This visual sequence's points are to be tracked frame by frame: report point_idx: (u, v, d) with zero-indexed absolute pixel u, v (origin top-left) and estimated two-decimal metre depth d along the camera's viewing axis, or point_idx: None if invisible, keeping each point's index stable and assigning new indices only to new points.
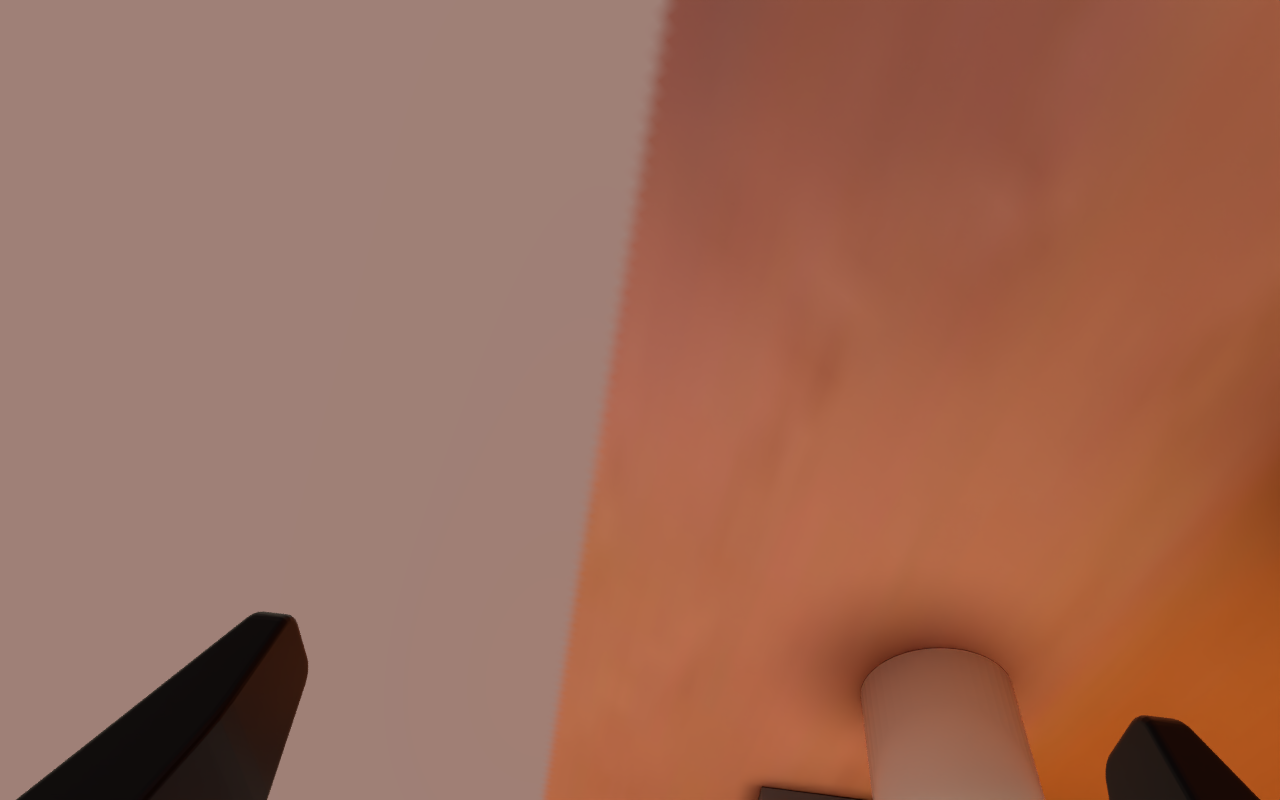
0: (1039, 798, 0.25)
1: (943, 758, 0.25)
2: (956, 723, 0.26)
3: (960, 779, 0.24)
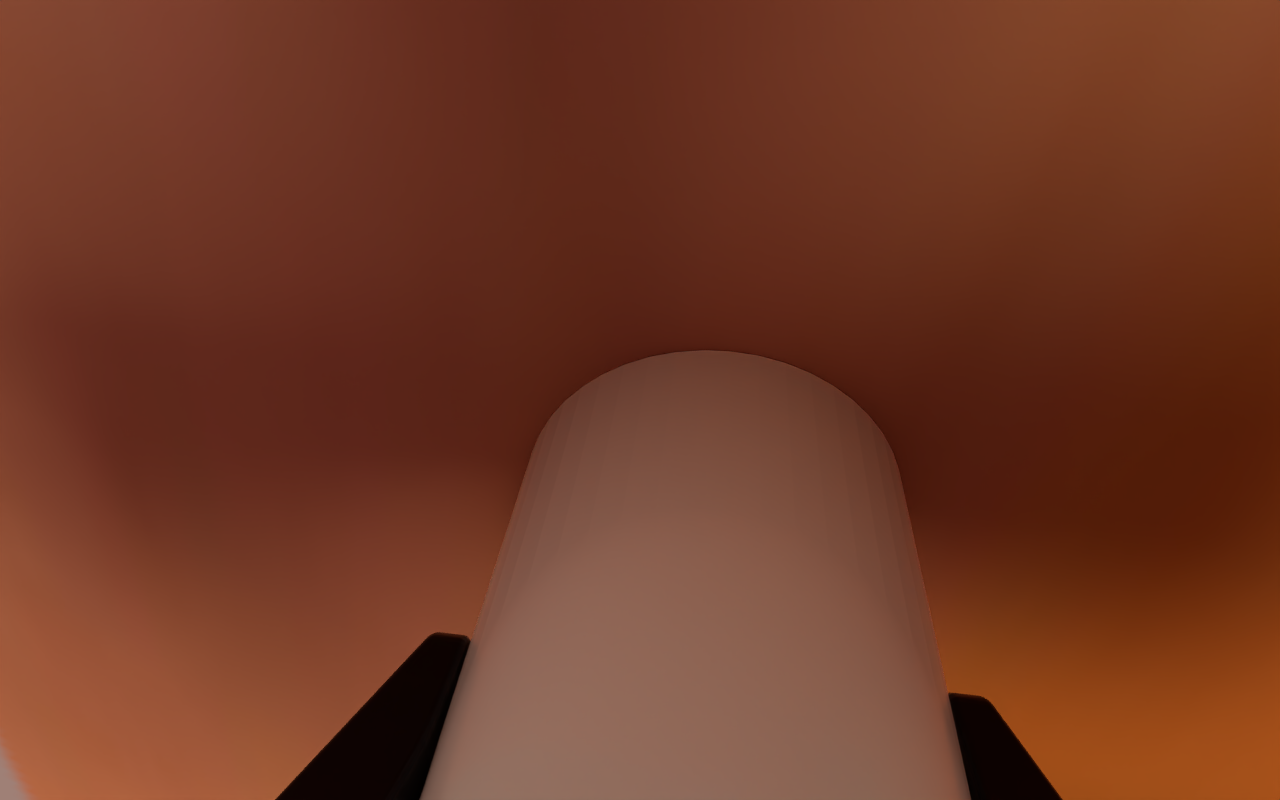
0: (931, 748, 0.07)
1: (597, 613, 0.07)
2: (673, 511, 0.08)
3: (628, 678, 0.06)
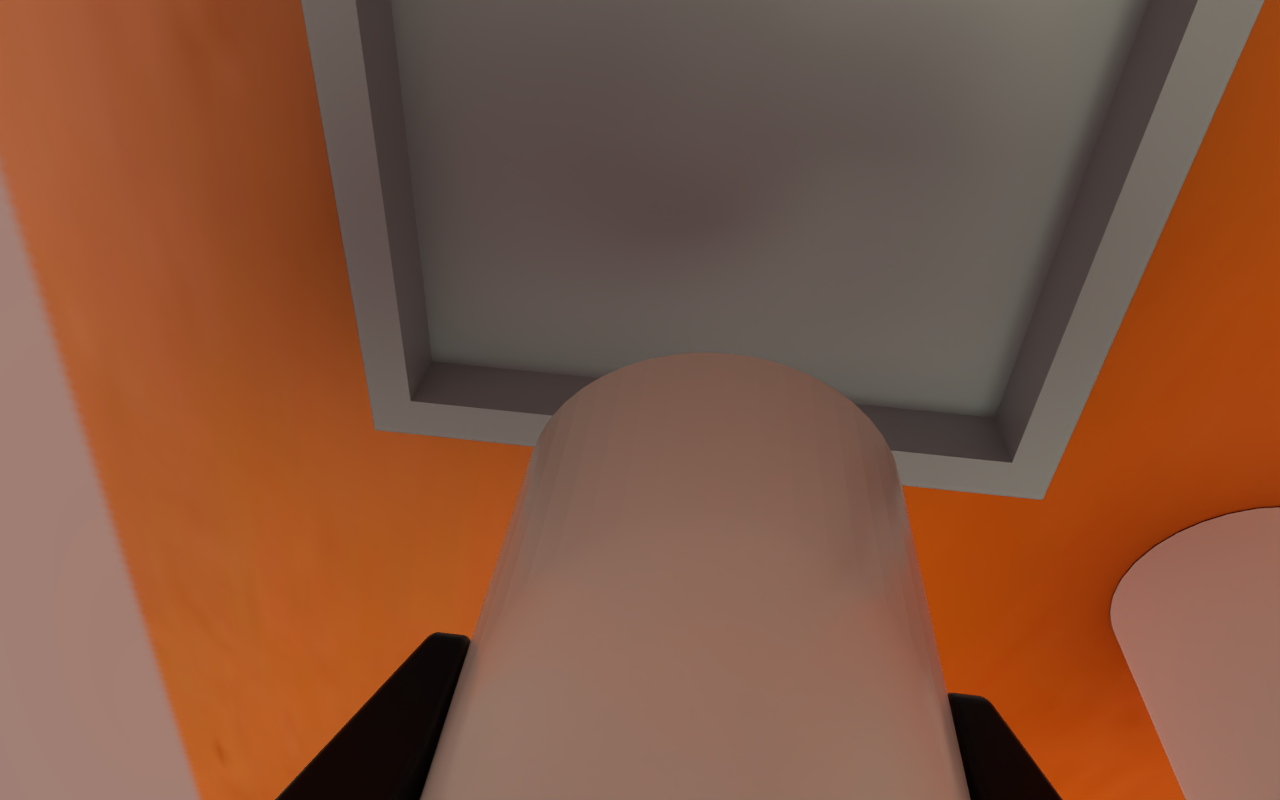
0: (931, 752, 0.07)
1: (596, 616, 0.07)
2: (673, 514, 0.08)
3: (626, 681, 0.06)
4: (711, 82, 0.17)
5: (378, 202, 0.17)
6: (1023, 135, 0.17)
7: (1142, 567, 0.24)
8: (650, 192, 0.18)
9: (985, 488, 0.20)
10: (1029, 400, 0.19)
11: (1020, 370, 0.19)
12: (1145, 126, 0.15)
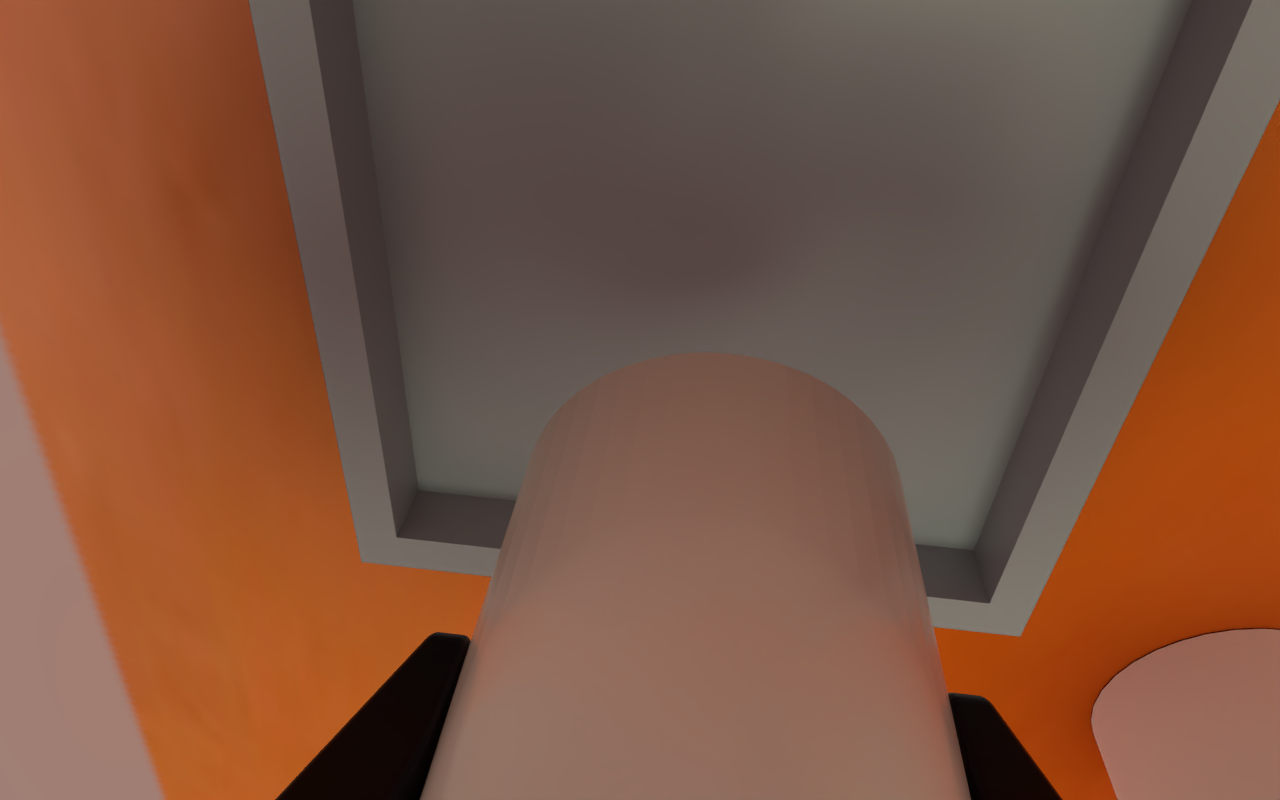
0: (932, 753, 0.07)
1: (596, 617, 0.07)
2: (673, 514, 0.08)
3: (628, 682, 0.06)
4: (690, 249, 0.17)
5: (363, 363, 0.18)
6: (997, 302, 0.17)
7: (1122, 682, 0.24)
8: (632, 344, 0.19)
9: (964, 625, 0.20)
10: (1005, 547, 0.19)
11: (997, 512, 0.20)
12: (1114, 313, 0.15)
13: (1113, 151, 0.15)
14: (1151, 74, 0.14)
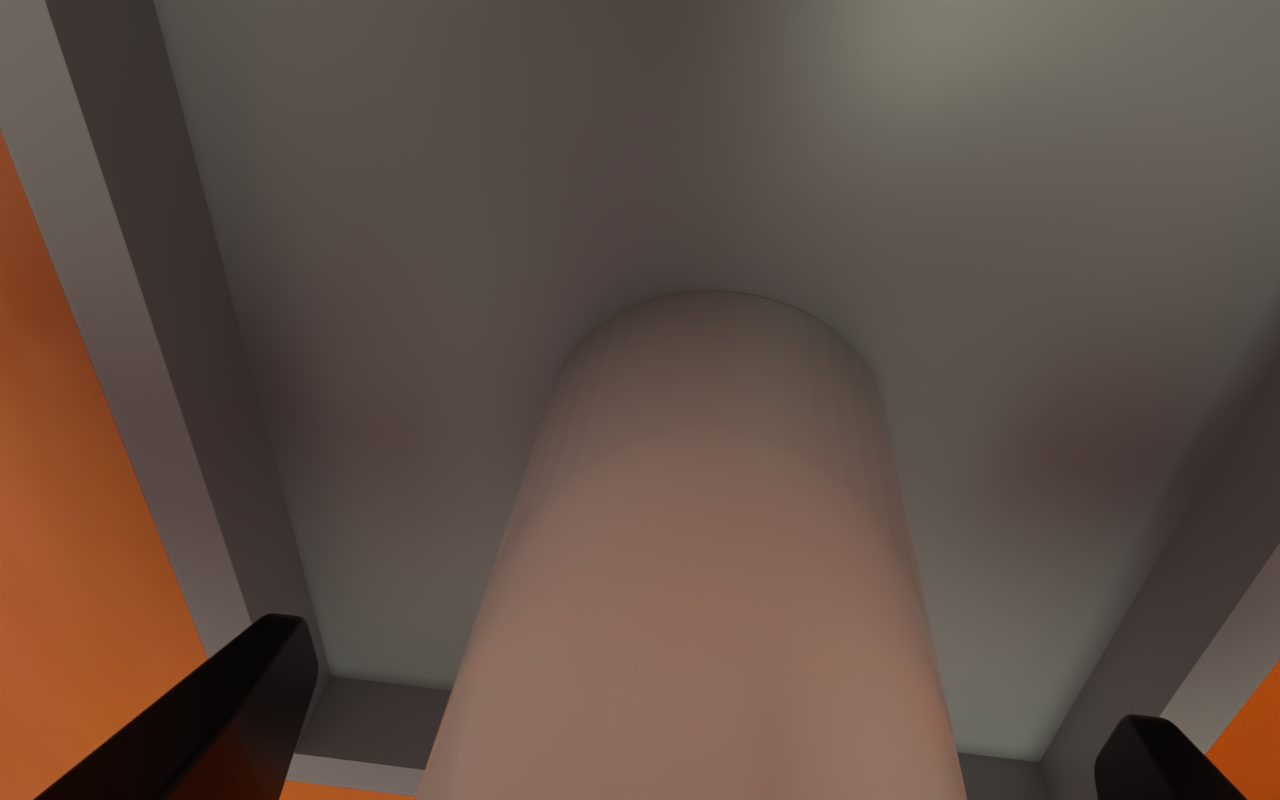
0: (901, 608, 0.08)
1: (616, 496, 0.08)
2: (682, 417, 0.09)
3: (643, 542, 0.08)
4: None
5: (226, 566, 0.13)
6: (1092, 489, 0.12)
7: None
8: None
9: None
10: (1090, 786, 0.14)
11: (1076, 730, 0.15)
12: (1277, 539, 0.11)
13: (1277, 306, 0.11)
14: None
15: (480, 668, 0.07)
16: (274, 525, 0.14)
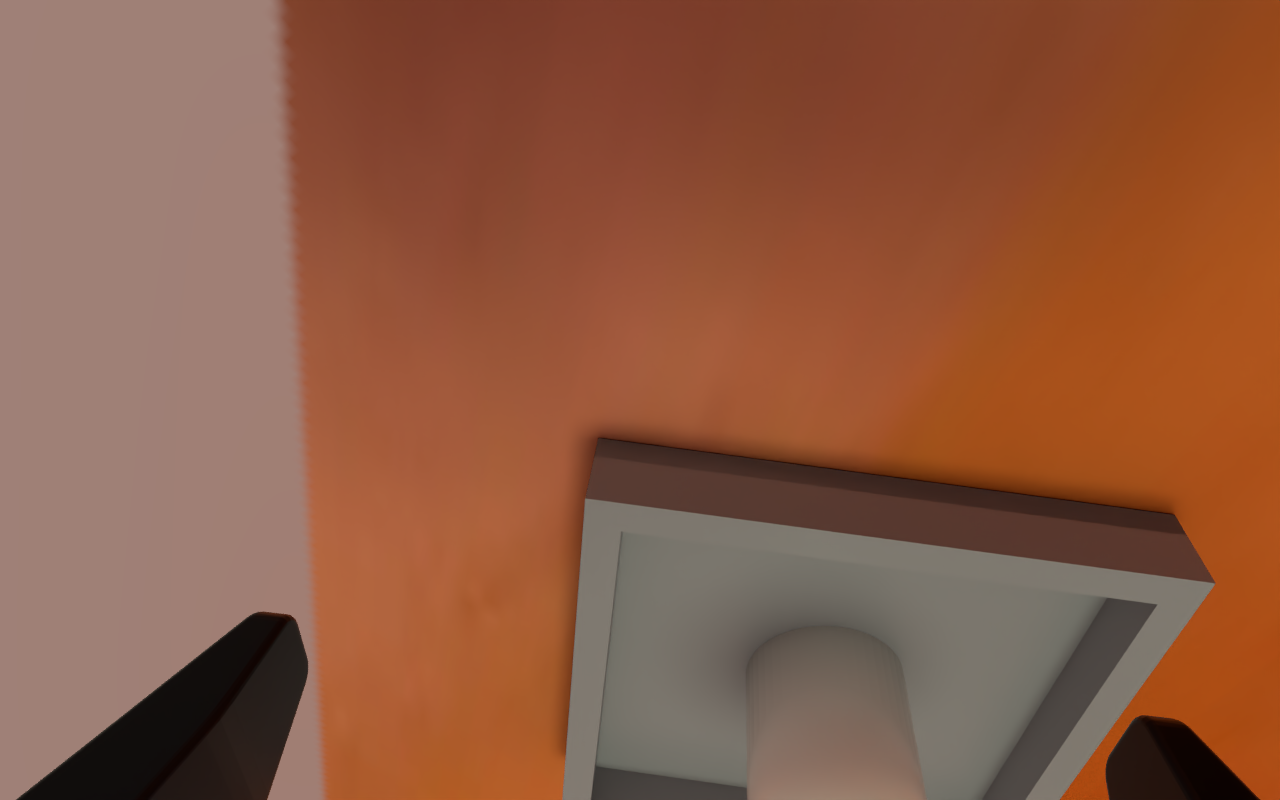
0: (915, 784, 0.23)
1: (816, 740, 0.23)
2: (833, 703, 0.24)
3: (831, 762, 0.23)
4: None
5: (595, 729, 0.28)
6: (993, 704, 0.28)
7: None
8: None
9: None
10: None
11: None
12: (1062, 741, 0.26)
13: (1065, 646, 0.26)
14: (1087, 618, 0.25)
15: None
16: None
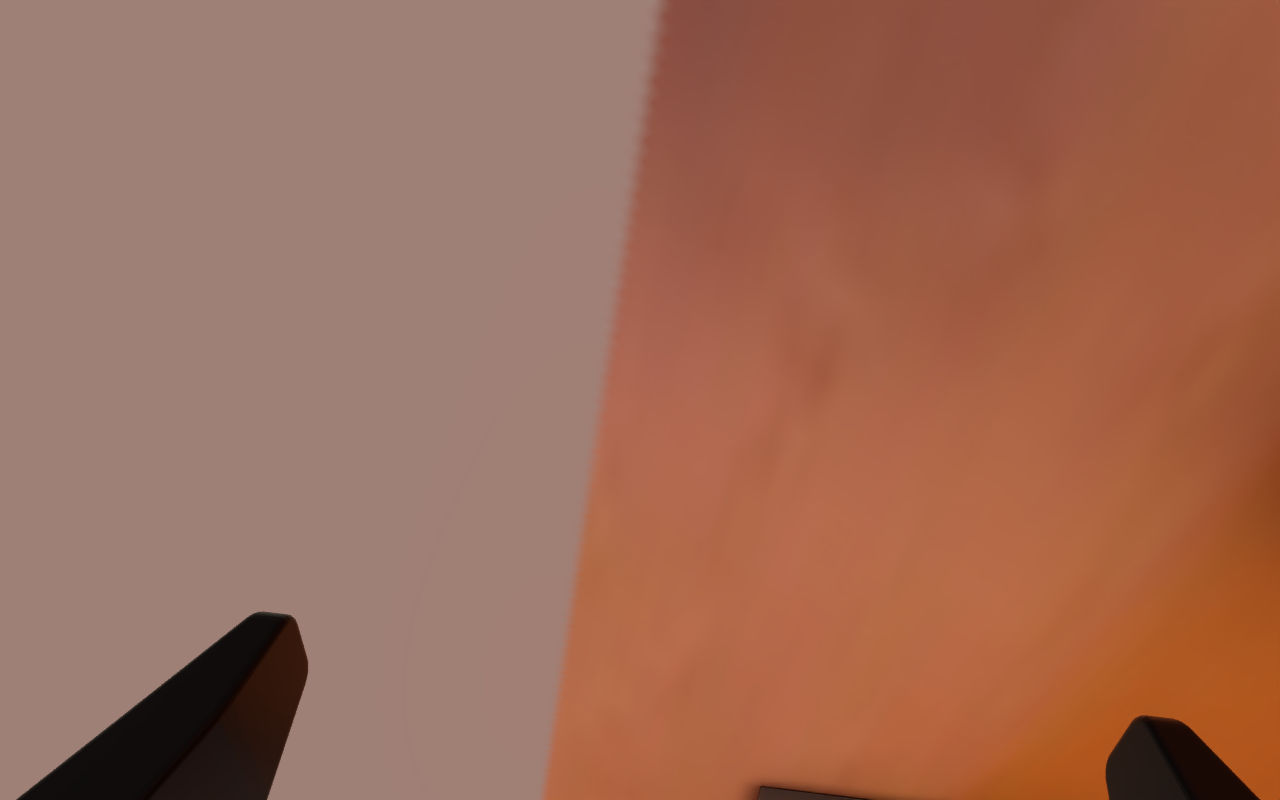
0: None
1: None
2: None
3: None
4: None
5: None
6: None
7: None
8: None
9: None
10: None
11: None
12: None
13: None
14: None
15: None
16: None
